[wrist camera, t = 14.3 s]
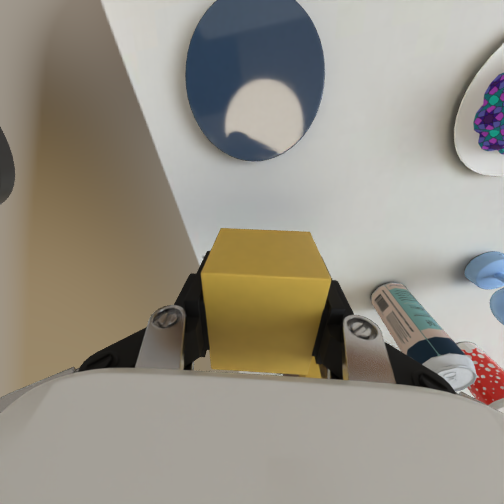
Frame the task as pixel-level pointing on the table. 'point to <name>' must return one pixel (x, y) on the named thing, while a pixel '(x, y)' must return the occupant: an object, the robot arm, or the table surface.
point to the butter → (314, 370)
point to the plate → (255, 76)
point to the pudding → (483, 119)
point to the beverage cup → (485, 377)
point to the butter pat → (263, 300)
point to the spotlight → (489, 278)
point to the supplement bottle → (422, 335)
